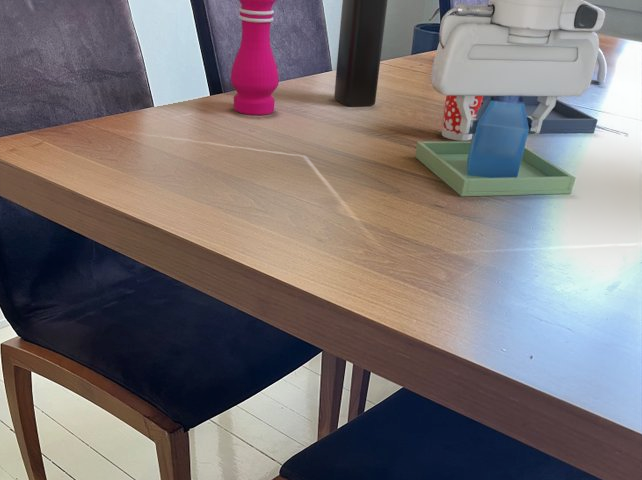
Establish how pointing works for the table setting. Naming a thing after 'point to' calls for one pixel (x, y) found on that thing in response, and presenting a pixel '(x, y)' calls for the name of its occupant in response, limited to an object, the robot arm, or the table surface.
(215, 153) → the table surface
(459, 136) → the beverage cup
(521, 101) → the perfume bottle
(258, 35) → the pepper mill
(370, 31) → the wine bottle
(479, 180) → the sage tray
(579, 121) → the slate tray
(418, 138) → the table surface
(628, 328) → the table surface
